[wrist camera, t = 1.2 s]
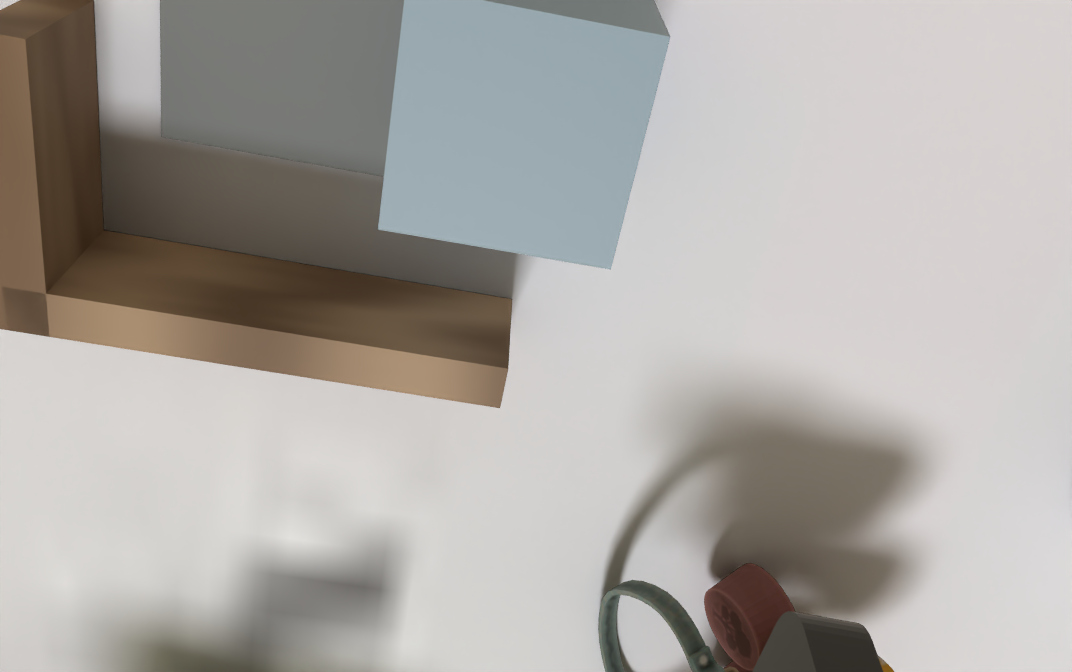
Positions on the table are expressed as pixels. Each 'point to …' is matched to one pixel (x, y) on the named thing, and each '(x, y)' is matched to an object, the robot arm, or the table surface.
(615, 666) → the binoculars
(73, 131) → the walnut corner walls
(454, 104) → the slate-blue block
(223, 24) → the pad
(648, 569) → the table surface
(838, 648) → the robot arm
